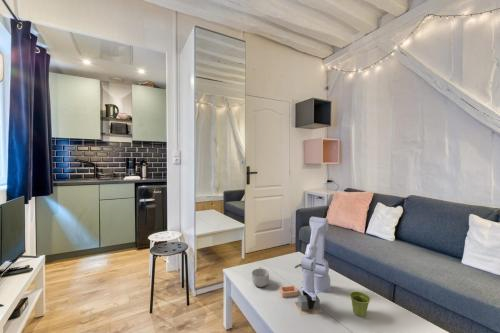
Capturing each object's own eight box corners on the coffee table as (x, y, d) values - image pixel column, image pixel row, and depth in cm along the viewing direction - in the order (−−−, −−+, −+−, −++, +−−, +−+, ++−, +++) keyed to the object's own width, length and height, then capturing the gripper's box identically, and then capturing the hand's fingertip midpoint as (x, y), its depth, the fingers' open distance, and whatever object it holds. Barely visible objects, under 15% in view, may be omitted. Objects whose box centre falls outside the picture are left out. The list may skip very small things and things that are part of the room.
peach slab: (294, 290, 136) (294, 285, 136) (297, 296, 130) (297, 291, 130) (279, 291, 135) (279, 286, 135) (282, 298, 129) (282, 292, 129)
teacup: (267, 290, 136) (267, 277, 136) (250, 288, 139) (250, 275, 138) (270, 277, 150) (270, 266, 150) (254, 276, 152) (254, 264, 152)
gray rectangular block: (315, 302, 124) (315, 294, 123) (319, 309, 119) (319, 299, 118) (298, 304, 122) (298, 296, 122) (301, 311, 117) (301, 302, 117)
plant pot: (352, 304, 122) (352, 288, 122) (371, 311, 116) (372, 295, 116) (347, 314, 115) (347, 297, 115) (367, 322, 109) (367, 305, 109)
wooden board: (315, 300, 126) (315, 299, 126) (323, 312, 116) (323, 312, 116) (294, 302, 125) (294, 302, 125) (301, 315, 115) (301, 314, 115)
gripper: (296, 273, 126) (296, 297, 127) (306, 289, 112) (306, 315, 113) (308, 272, 127) (308, 295, 128) (320, 287, 113) (320, 313, 114)
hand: (308, 305), depth 120 cm, fingers closed on gray rectangular block, 5 cm apart
